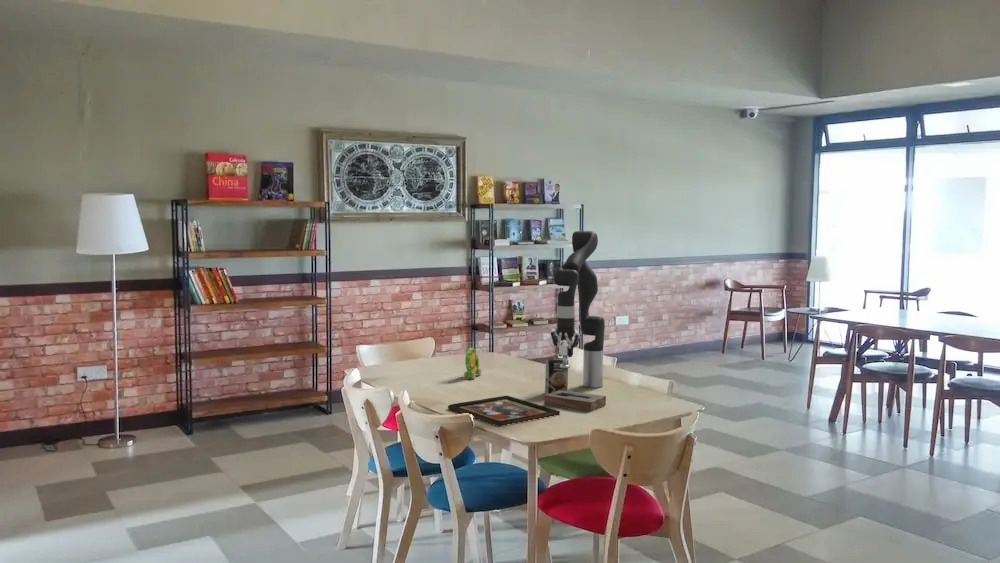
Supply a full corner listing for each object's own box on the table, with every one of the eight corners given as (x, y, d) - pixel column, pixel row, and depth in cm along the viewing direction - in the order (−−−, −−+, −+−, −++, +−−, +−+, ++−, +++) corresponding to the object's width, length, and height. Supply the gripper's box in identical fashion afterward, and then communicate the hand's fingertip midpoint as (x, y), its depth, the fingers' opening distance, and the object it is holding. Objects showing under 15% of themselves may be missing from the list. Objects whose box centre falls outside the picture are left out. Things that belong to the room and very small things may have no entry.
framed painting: (440, 411, 332) (440, 404, 332) (501, 399, 357) (501, 393, 357) (505, 430, 305) (505, 423, 305) (566, 416, 330) (566, 409, 330)
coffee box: (548, 396, 361) (548, 360, 360) (544, 393, 368) (545, 357, 366) (568, 395, 363) (568, 359, 362) (564, 392, 369) (564, 357, 368)
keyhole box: (560, 398, 356) (560, 389, 356) (605, 405, 344) (605, 396, 344) (544, 404, 345) (544, 395, 344) (590, 411, 332) (590, 402, 332)
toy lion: (471, 374, 410) (472, 344, 409) (482, 375, 409) (482, 345, 408) (461, 380, 395) (462, 349, 394) (472, 381, 394) (472, 350, 392)
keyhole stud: (563, 366, 349) (563, 344, 348) (572, 367, 346) (572, 345, 346) (558, 367, 345) (558, 345, 344) (567, 368, 343) (567, 346, 342)
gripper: (584, 316, 343) (584, 356, 345) (555, 314, 351) (555, 353, 353) (576, 318, 337) (575, 359, 338) (546, 316, 345) (546, 356, 346)
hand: (565, 356), depth 346 cm, fingers closed on keyhole stud, 4 cm apart
